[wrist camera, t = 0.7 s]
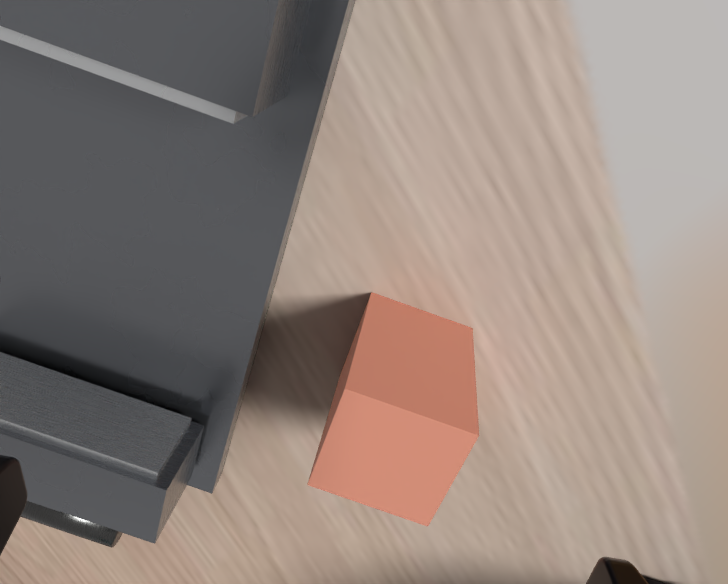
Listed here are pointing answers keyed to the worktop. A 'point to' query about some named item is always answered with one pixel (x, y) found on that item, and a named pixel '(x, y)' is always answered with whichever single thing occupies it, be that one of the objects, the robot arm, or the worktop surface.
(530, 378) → the worktop surface
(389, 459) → the brick-red block
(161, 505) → the sliding jaw
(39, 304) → the vise base
